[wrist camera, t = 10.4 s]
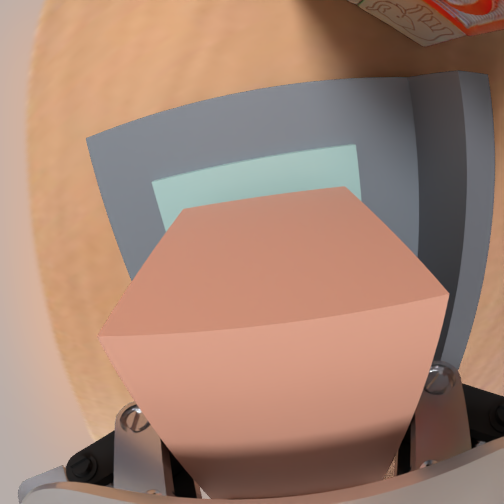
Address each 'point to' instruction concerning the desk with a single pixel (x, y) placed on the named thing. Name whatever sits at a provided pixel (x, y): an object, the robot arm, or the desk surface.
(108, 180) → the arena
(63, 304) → the desk surface
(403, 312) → the terracotta block
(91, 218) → the desk surface
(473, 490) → the robot arm
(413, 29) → the stack of blocks
